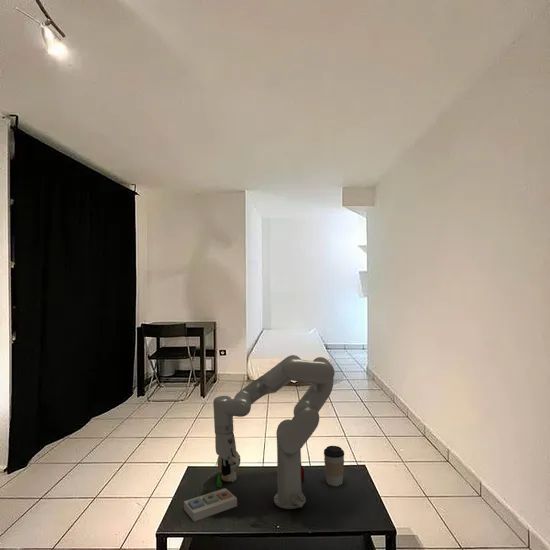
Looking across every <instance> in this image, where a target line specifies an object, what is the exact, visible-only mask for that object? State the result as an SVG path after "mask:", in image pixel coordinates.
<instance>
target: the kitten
mask: <svg viewBox="0 0 550 550" xmlns="http://www.w3.org/2000/svg"><path fill="white" fill-rule="evenodd" d="M236 455H237V456H236V458H234V457H232V458H233V463H231V464H230V469H231V474H229V475H226V476H223V475H222V474H221V473H222V469H221V465H222V464H221V461H220V457H219V456H218V457H217V462H216V465H217V468H218V470H219V471H220V472H221V473H220V472H219V474H218V476H217V479H216V487H217V488H222V486H223V483H222V481H224V482H226V483H227V482H231V483H234V482H235V481H237V477H238V476H237V473H236V471H237V470H238V468H240V465H241V455H240V454H239V452H238V451H237V450H236ZM221 480H222V481H221Z"/></svg>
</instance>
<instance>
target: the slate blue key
mask: <svg viewBox="0 0 550 550" xmlns="http://www.w3.org/2000/svg"><path fill="white" fill-rule="evenodd" d="M188 505H189V507H190V508H191V509H192V510H194V509H197V508H200V507H203V506H204V502H203V501H202V500H201V499H200V498H197V499H194V500H191V501H188Z"/></svg>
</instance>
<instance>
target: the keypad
mask: <svg viewBox="0 0 550 550" xmlns="http://www.w3.org/2000/svg"><path fill="white" fill-rule="evenodd" d="M225 491H228V492H229V493H230V494H231V495H232V497H229V498H226V499H223V500H221V499H220V498H219V497H218V496H217V494H218V493H222V492H225ZM212 493H214V494H215V495H216V496H217V497H218V498H219V501H217V502H214V503H211V504H208V505H207V504H206V503H205V502H204V501H203V496H206V495H209V494H212ZM197 498H200V499H201V500H202V501H203V502H204V506H203V507H200V508H197V509H194V510H192V509H191V508H190V507H189V505H188V501H191V500H194V499H197ZM235 507H236V508H237V507H238V498H237V497H236V496H235V495H234V494H233V493H232V492H231V491H229V490H228V489H227V488H226V487H225V488H221V489H219V490H215V491H212V492H209V493H206V494H203V495H199V496H196V497H194V498H191V499H187V500H183V510H184V511H185V512H186V513H187V515H188V516H189V517H190V518H191V520H192V521H193V522H198V521H199V520H202V519H204V518H207V517H211V516H215V515H216V514H218V513H221V512H222V513H223V512H224V511H227V510H230V509H233V508H235Z"/></svg>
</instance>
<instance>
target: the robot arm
mask: <svg viewBox="0 0 550 550" xmlns="http://www.w3.org/2000/svg"><path fill="white" fill-rule="evenodd" d="M335 372H336V371H335V368H334V366H333V365H332V364H331V362H330V361H329V360H328V359H327V358H326V357H323V356H322V357H321V356H319V357H316V358H314V359H313V360H306V359H301V358H300V357H299V355H295V354H291V355H288V356H287V357H285V358H284V359H283V360H281V361H280V362H279V363H277V364H276V365H275V366H273V367H272V368H271V369H269V370H268V371H266V372H265V373H264V374H263V375H261V376H259V377H258V378H256V379H254V380H252V382H250V383H249V384H247V385H246V386H245V387H244V388H242V389H240V390H239V391H238V392H237V393H236V394H235V396H234V397H233V398H232V397H231V396H229V395H219V396H217V397H215V398H213V401H212V402H213V403H212V405H213V419H214V420H213V421H214V422H213V424H214V434H215V435H214V437H215V438H214V439H215V440H214V441H215V442H214V443H215V445H214V446H215V454H216V455H217V456H218V457H220V461H221V464H222V465H221V469H222V472H221V476H222V475H223V476H226V475H229V474H231V469H230V464H231V463H233V458H232V457H234V458H236V456H237V455H236V451H237V445H236V438H235V437H236V436H235V434H234V417H238V418H239V417H241V418H242V417H246V416H247V415H249V414H250V412H251V409H252V405H253V404H254V403H256V402H257V401H258V400H259V399H261V398H262V397H264V396H266V395H268V394H276V393H277V392H278V391H280V390H281V389H282V388H284V387H285V386H286V385H287V384H289V383H290V382H291V381H293V382H297V383H298V382H299V383H309V384H310V386H309V387H308V389H307V390H306V392H305V393H304V394H303V396H302V397H301V398H300V399H299V401H298V402H297V403H296V404H295V405H294V408H293V417H292V418H291V419H284V420H282V421H281V422H280V423H279V424H278V425H277V427H276V451H277V452H276V455H277V456H276V457H277V460H276V464H277V466H276V468H277V474H276V475H277V493H276V494H275V495H274V496H273V503H274V504H275V505H276V506H277V507H279V508H281V509H286V510H293V509H298V508H303V506H304V504H305V503H306V502H307V500H306V496H305V495H304V494H303V492H302V482H301V465H302V451H301V450H302V448H303V447H304V446H305V444H306V443H307V441H309V439H310V438H311V437H312V435H313V434H314V432H315V431H316V429H317V428H318V425H319V423H320V414H319V412H320V411H321V409H323V406H324V405H325V404H326V402H327V401H328V398H329V397H330V396H331V393H332V392H333V388H334V378H335Z"/></svg>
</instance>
